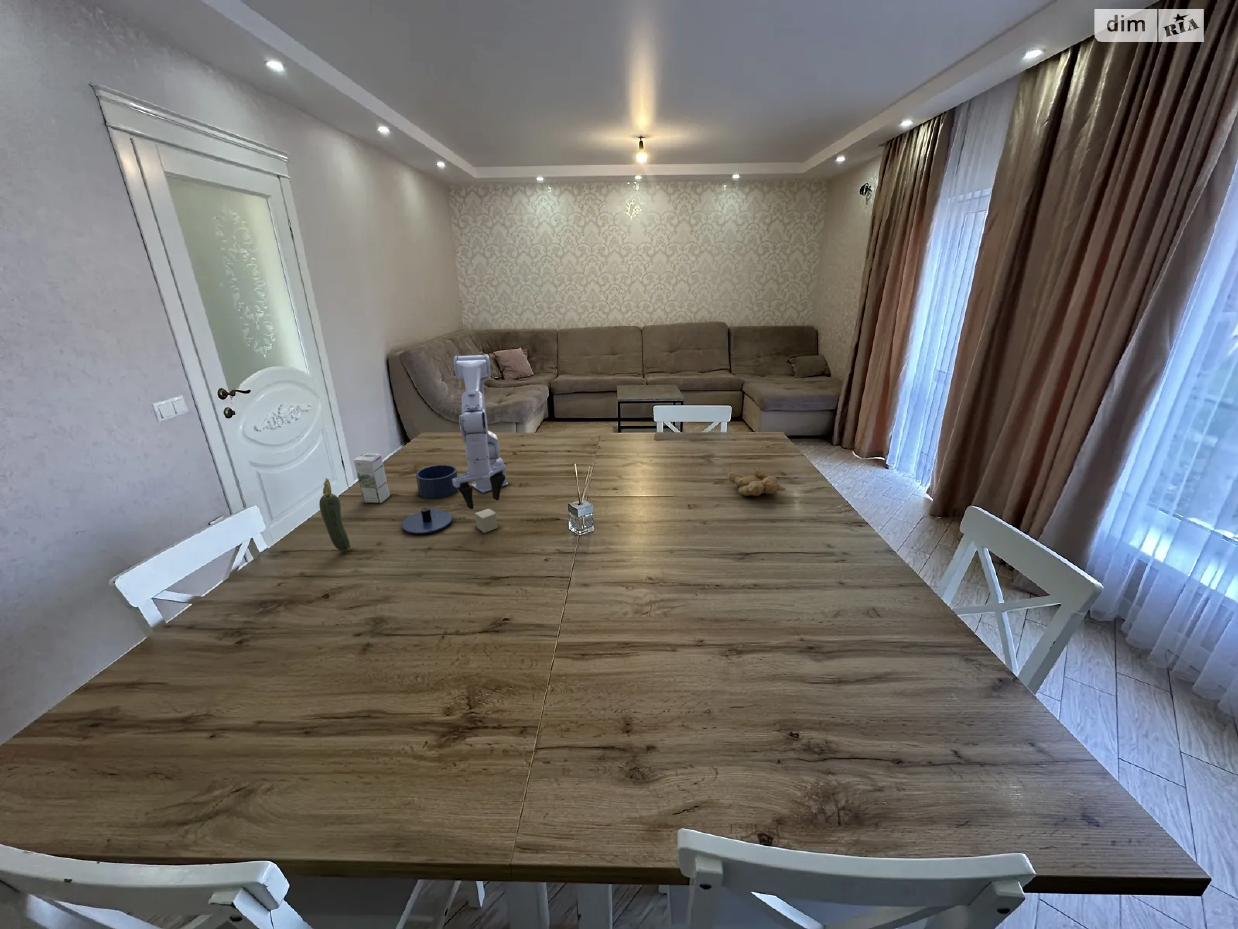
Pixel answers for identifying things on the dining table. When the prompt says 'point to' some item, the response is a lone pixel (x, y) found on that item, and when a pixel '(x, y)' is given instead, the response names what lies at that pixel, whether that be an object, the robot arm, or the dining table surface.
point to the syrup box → (372, 478)
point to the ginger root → (755, 483)
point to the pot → (436, 481)
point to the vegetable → (333, 518)
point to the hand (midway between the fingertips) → (483, 503)
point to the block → (486, 520)
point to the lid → (427, 521)
